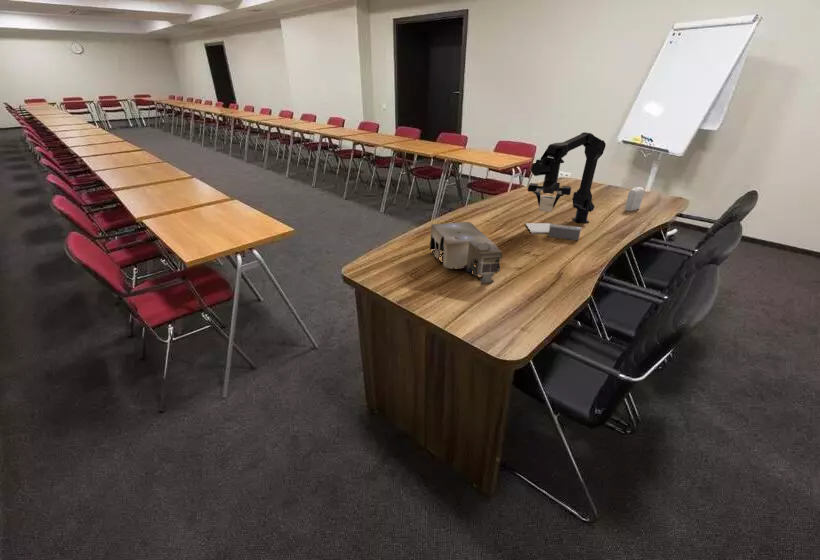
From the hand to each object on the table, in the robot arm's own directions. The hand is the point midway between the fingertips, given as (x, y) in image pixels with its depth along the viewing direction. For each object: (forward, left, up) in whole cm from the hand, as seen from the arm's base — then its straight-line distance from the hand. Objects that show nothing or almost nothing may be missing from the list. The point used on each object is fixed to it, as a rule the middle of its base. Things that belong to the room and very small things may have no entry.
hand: (546, 207), depth 180 cm
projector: (+40, -41, -12) cm, 58 cm away
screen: (+11, +7, -11) cm, 17 cm away
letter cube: (0, 0, -1) cm, 1 cm away
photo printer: (-33, +58, -12) cm, 67 cm away
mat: (-1, -1, -11) cm, 11 cm away
